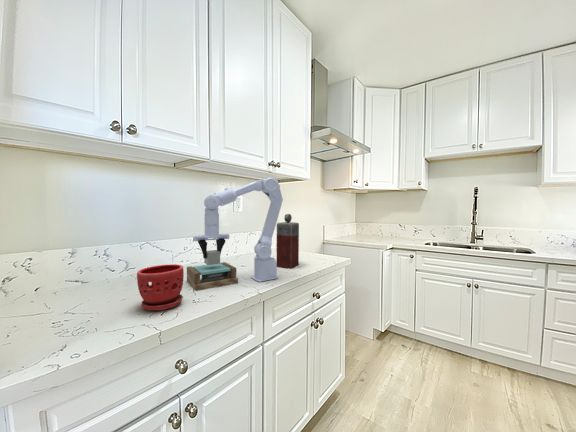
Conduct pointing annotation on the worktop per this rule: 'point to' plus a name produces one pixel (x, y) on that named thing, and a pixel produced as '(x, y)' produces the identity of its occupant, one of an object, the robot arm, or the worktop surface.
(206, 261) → the granite block
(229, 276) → the hatch stand
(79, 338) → the worktop surface
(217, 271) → the hatch flap
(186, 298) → the worktop surface
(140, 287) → the plant pot
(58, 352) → the worktop surface
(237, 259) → the worktop surface
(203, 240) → the robot arm
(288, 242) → the red lidded canister
